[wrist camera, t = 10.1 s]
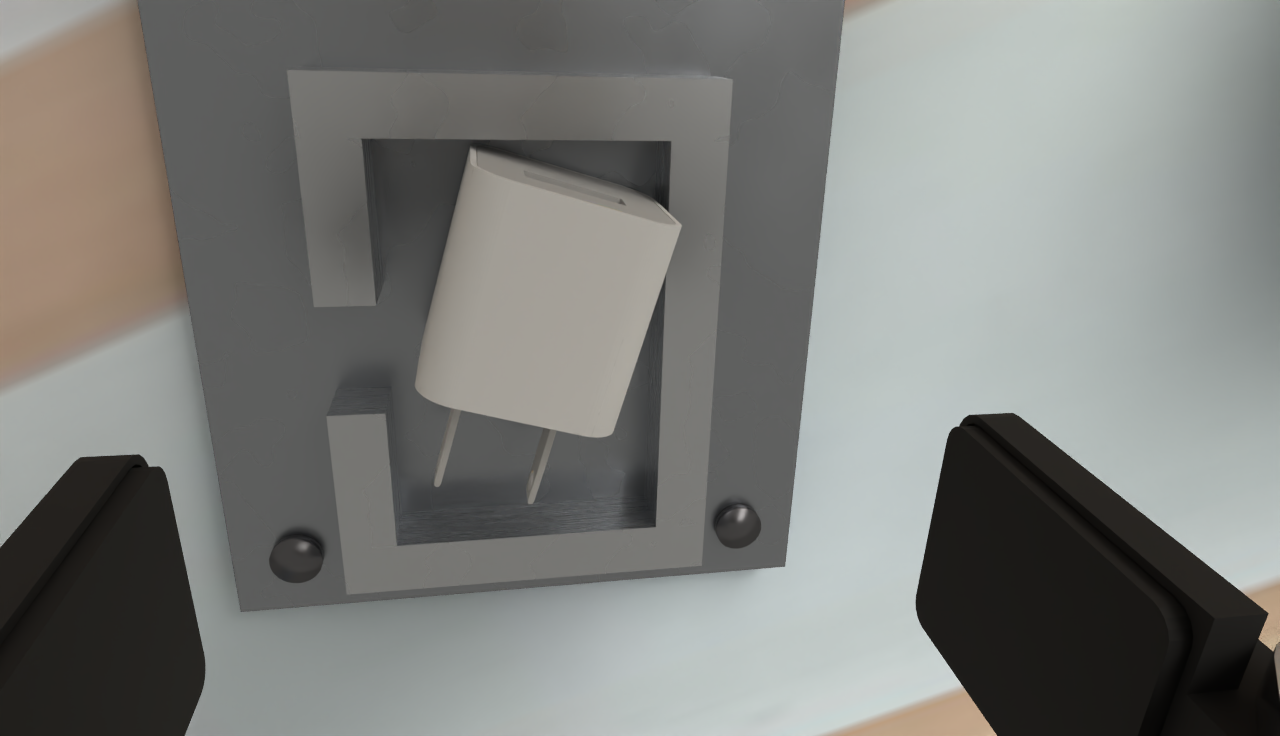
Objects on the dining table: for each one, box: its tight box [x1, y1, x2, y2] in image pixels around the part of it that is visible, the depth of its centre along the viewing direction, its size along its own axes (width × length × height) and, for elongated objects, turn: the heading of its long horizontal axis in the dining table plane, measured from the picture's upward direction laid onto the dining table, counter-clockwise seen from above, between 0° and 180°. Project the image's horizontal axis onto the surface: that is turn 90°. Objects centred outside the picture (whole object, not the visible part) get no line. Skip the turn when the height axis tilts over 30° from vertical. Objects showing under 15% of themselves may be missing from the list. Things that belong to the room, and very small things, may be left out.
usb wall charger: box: [415, 144, 682, 504], centre depth 18 cm, size 4×7×4 cm, turn 162°
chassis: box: [138, 0, 845, 612], centre depth 19 cm, size 18×14×2 cm
